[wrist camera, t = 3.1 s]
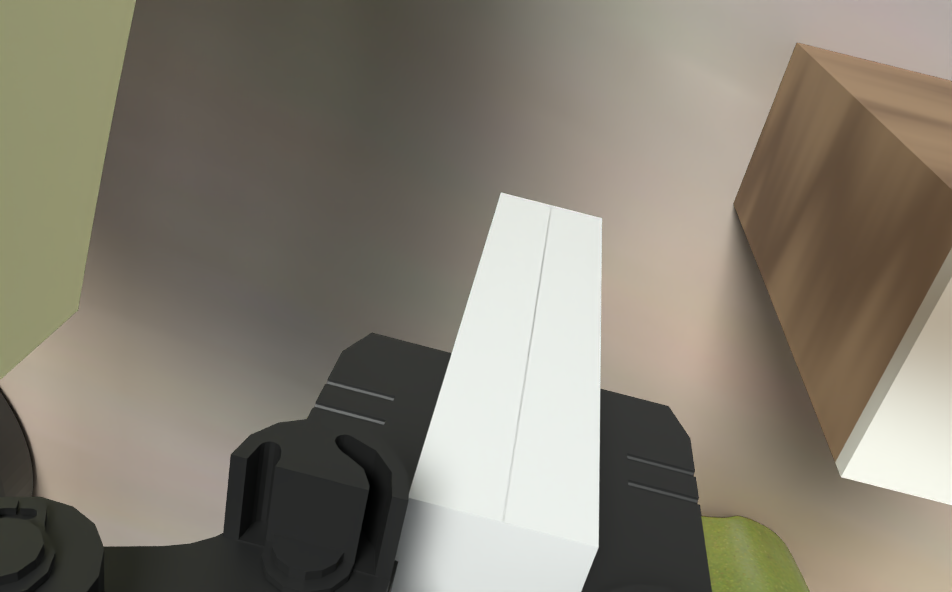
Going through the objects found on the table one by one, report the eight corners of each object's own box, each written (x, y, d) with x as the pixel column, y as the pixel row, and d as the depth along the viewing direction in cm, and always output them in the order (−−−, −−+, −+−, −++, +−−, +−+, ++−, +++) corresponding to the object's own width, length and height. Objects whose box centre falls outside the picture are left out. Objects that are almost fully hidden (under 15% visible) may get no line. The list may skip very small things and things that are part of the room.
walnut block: (891, 243, 26) (1121, 547, 15) (733, 203, 26) (840, 477, 15) (970, 85, 24) (1318, 302, 12) (796, 42, 24) (982, 219, 12)
